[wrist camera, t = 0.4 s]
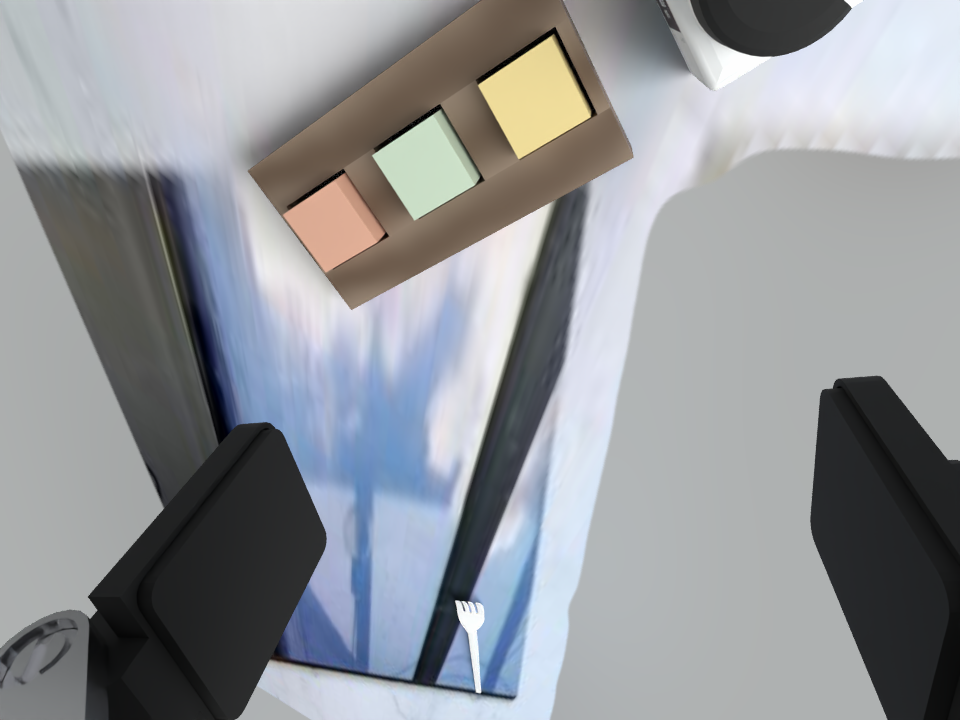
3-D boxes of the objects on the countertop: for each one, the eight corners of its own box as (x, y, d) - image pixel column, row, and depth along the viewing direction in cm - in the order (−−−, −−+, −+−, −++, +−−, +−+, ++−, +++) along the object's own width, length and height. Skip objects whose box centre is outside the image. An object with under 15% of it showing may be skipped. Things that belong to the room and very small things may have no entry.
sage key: (386, 145, 40) (372, 155, 38) (444, 106, 38) (433, 114, 36) (425, 206, 42) (414, 220, 40) (482, 172, 40) (474, 185, 38)
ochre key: (486, 79, 37) (477, 85, 35) (554, 33, 35) (551, 36, 33) (523, 148, 39) (518, 159, 36) (591, 108, 37) (590, 117, 34)
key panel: (267, 160, 44) (247, 170, 41) (543, -40, 35) (539, -43, 32) (364, 293, 48) (351, 310, 46) (631, 146, 39) (633, 157, 37)
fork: (467, 685, 77) (464, 699, 75) (454, 585, 66) (450, 600, 64) (492, 688, 76) (490, 703, 75) (483, 588, 65) (480, 603, 64)
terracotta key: (300, 202, 43) (282, 215, 41) (350, 169, 42) (334, 180, 39) (340, 257, 45) (325, 272, 43) (390, 227, 43) (377, 242, 41)
